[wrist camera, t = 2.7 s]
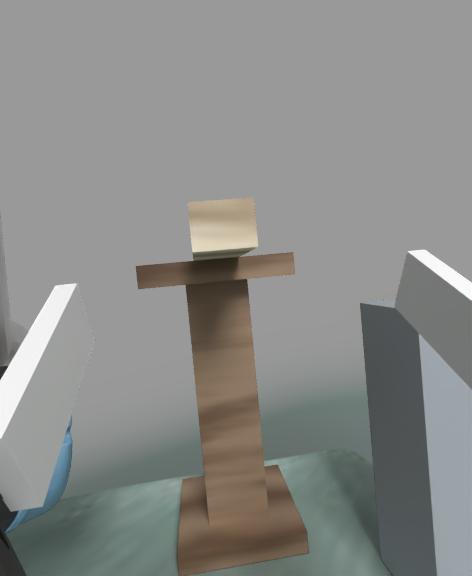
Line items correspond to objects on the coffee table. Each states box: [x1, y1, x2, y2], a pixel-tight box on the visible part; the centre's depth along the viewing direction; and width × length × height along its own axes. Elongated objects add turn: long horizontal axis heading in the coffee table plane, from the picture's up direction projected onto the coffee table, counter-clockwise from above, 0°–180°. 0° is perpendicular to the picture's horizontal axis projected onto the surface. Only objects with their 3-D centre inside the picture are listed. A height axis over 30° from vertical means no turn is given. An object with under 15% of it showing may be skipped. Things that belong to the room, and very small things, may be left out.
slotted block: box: [360, 300, 472, 576], centre depth 28 cm, size 8×10×23 cm
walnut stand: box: [136, 252, 309, 576], centre depth 38 cm, size 12×14×28 cm
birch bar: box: [188, 198, 258, 261], centre depth 34 cm, size 26×4×3 cm, turn 7°
